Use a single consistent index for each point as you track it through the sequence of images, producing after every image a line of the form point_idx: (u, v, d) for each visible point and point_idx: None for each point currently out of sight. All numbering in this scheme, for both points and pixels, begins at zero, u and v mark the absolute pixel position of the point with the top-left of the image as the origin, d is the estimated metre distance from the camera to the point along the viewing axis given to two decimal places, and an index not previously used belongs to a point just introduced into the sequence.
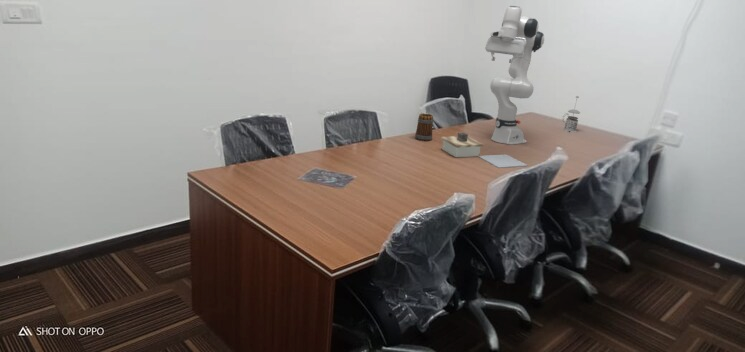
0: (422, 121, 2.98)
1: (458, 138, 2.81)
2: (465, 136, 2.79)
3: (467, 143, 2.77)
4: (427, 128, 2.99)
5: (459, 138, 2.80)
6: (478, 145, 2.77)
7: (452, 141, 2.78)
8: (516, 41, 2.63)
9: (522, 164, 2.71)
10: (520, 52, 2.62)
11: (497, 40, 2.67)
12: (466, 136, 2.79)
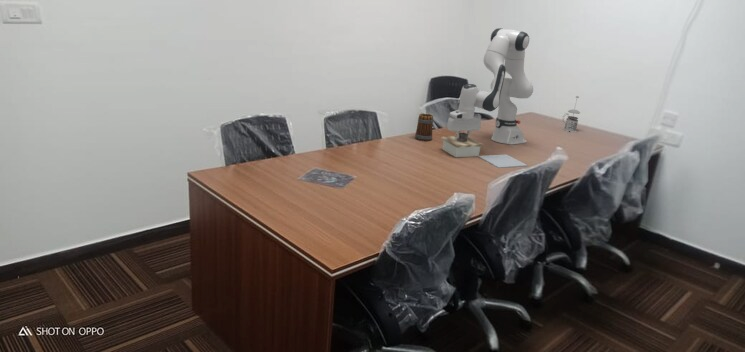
0: (422, 121, 2.98)
1: (458, 138, 2.81)
2: (465, 136, 2.79)
3: (467, 143, 2.77)
4: (427, 128, 2.99)
5: (459, 138, 2.80)
6: (478, 145, 2.77)
7: (452, 141, 2.78)
8: (475, 119, 2.78)
9: (522, 164, 2.71)
10: (479, 128, 2.81)
11: (460, 121, 2.74)
12: (466, 136, 2.79)
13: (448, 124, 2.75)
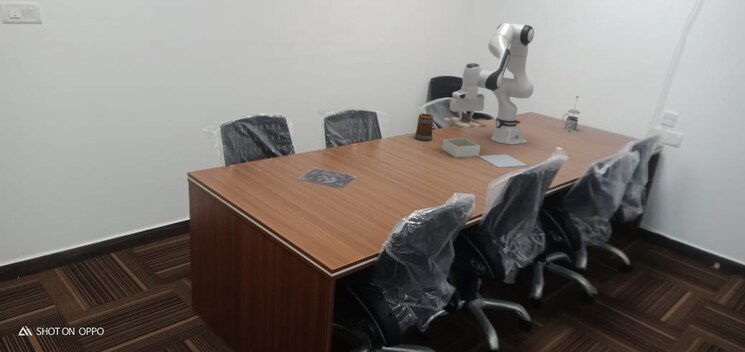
0: (422, 121, 2.98)
1: (461, 119, 2.78)
2: (468, 117, 2.76)
3: (470, 124, 2.73)
4: (427, 128, 2.99)
5: (462, 119, 2.77)
6: (481, 126, 2.73)
7: (455, 122, 2.75)
8: (478, 99, 2.74)
9: (522, 164, 2.71)
10: (482, 109, 2.77)
11: (462, 101, 2.71)
12: (469, 117, 2.76)
13: (451, 105, 2.72)
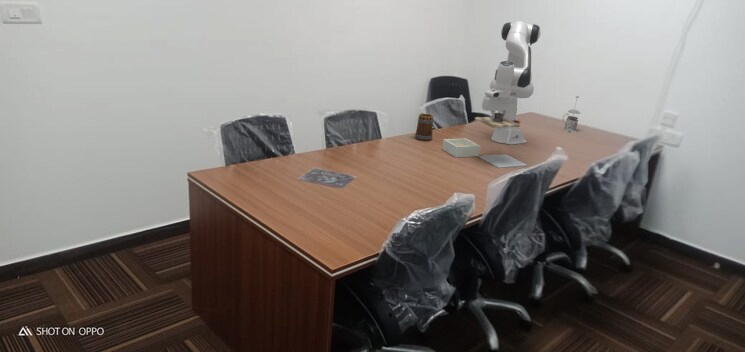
0: (422, 121, 2.98)
1: None
2: (501, 116, 2.67)
3: (503, 123, 2.65)
4: (427, 128, 2.99)
5: None
6: (515, 125, 2.65)
7: (487, 121, 2.66)
8: (511, 98, 2.66)
9: (522, 164, 2.71)
10: (515, 108, 2.69)
11: (496, 100, 2.63)
12: (502, 116, 2.68)
13: (483, 103, 2.64)
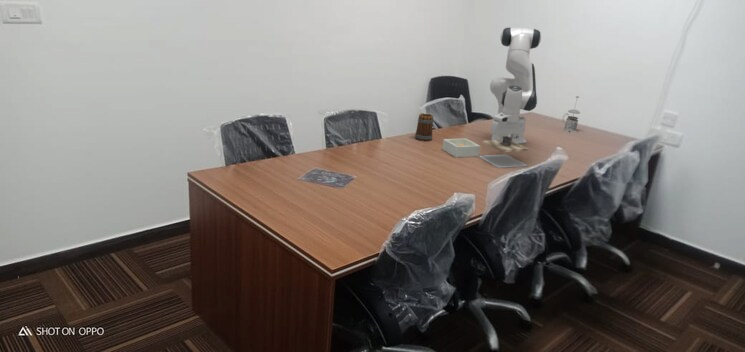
0: (422, 121, 2.98)
1: (501, 142, 2.71)
2: (509, 140, 2.69)
3: (512, 147, 2.66)
4: (427, 128, 2.99)
5: (503, 142, 2.70)
6: (523, 149, 2.66)
7: (496, 145, 2.68)
8: (519, 122, 2.68)
9: (522, 164, 2.71)
10: (523, 132, 2.71)
11: (504, 124, 2.64)
12: (510, 140, 2.69)
13: (492, 128, 2.65)
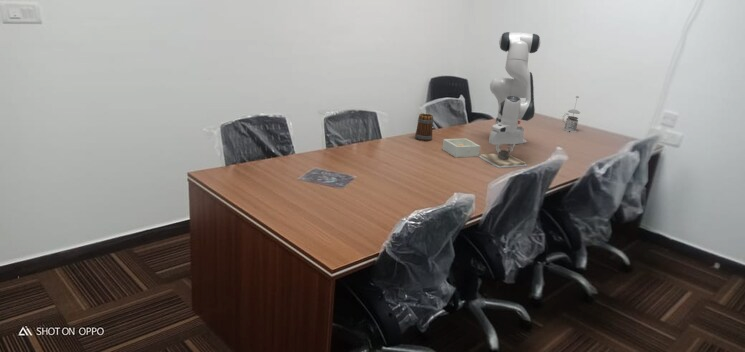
0: (422, 121, 2.98)
1: (499, 156, 2.74)
2: (507, 154, 2.72)
3: (509, 161, 2.69)
4: (427, 128, 2.99)
5: (500, 156, 2.73)
6: (520, 163, 2.69)
7: (493, 159, 2.71)
8: (518, 132, 2.70)
9: None
10: (521, 142, 2.73)
11: (502, 134, 2.66)
12: (508, 154, 2.72)
13: (490, 138, 2.67)
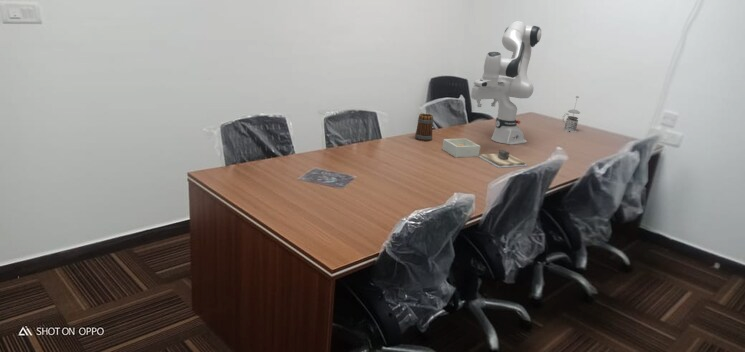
0: (422, 121, 2.98)
1: (499, 156, 2.74)
2: (507, 154, 2.72)
3: (509, 161, 2.69)
4: (427, 128, 2.99)
5: (500, 156, 2.73)
6: (520, 163, 2.69)
7: (493, 159, 2.71)
8: (499, 87, 2.79)
9: None
10: (502, 97, 2.82)
11: (484, 89, 2.75)
12: (508, 154, 2.72)
13: (472, 93, 2.76)
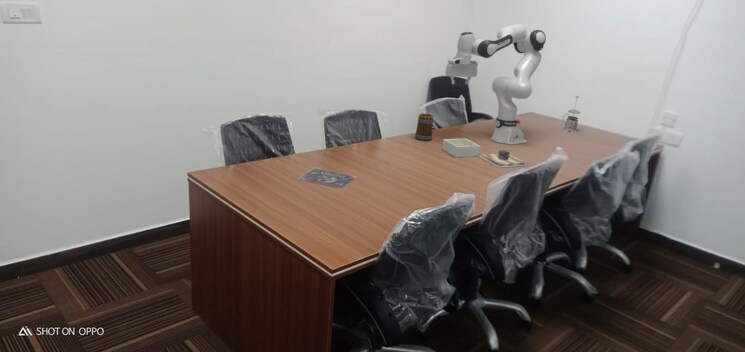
0: (422, 121, 2.98)
1: (499, 156, 2.74)
2: (507, 154, 2.72)
3: (509, 161, 2.69)
4: (427, 128, 2.99)
5: (500, 156, 2.73)
6: (520, 163, 2.69)
7: (493, 159, 2.71)
8: (472, 66, 2.97)
9: None
10: (475, 75, 3.00)
11: (457, 66, 2.93)
12: (508, 154, 2.72)
13: (446, 70, 2.94)
